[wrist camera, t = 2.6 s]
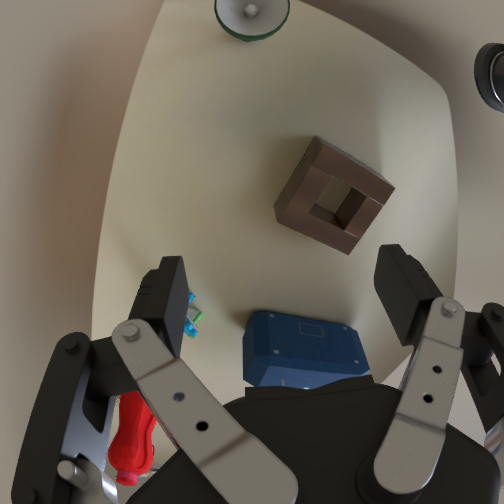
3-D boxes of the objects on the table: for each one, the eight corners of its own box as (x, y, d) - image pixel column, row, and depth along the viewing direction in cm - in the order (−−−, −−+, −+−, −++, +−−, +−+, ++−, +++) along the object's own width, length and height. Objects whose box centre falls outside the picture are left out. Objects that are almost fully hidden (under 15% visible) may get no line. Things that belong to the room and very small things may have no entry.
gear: (138, 291, 52) (170, 313, 45) (162, 266, 54) (196, 284, 48) (171, 328, 59) (204, 351, 52) (192, 305, 61) (226, 325, 55)
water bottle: (149, 410, 76) (136, 493, 55) (117, 390, 71) (97, 477, 50) (172, 402, 74) (161, 492, 52) (139, 381, 69) (120, 476, 47)
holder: (315, 135, 41) (323, 144, 37) (381, 175, 44) (395, 188, 40) (273, 206, 46) (276, 222, 42) (339, 237, 49) (348, 255, 45)
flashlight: (235, 57, 35) (229, 48, 18) (221, 23, 32) (202, -14, 16) (274, 45, 34) (301, 26, 17) (260, 10, 32) (275, -36, 15)
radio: (240, 337, 61) (241, 430, 44) (253, 304, 56) (258, 404, 39) (337, 352, 64) (358, 435, 47) (357, 323, 60) (386, 409, 43)
